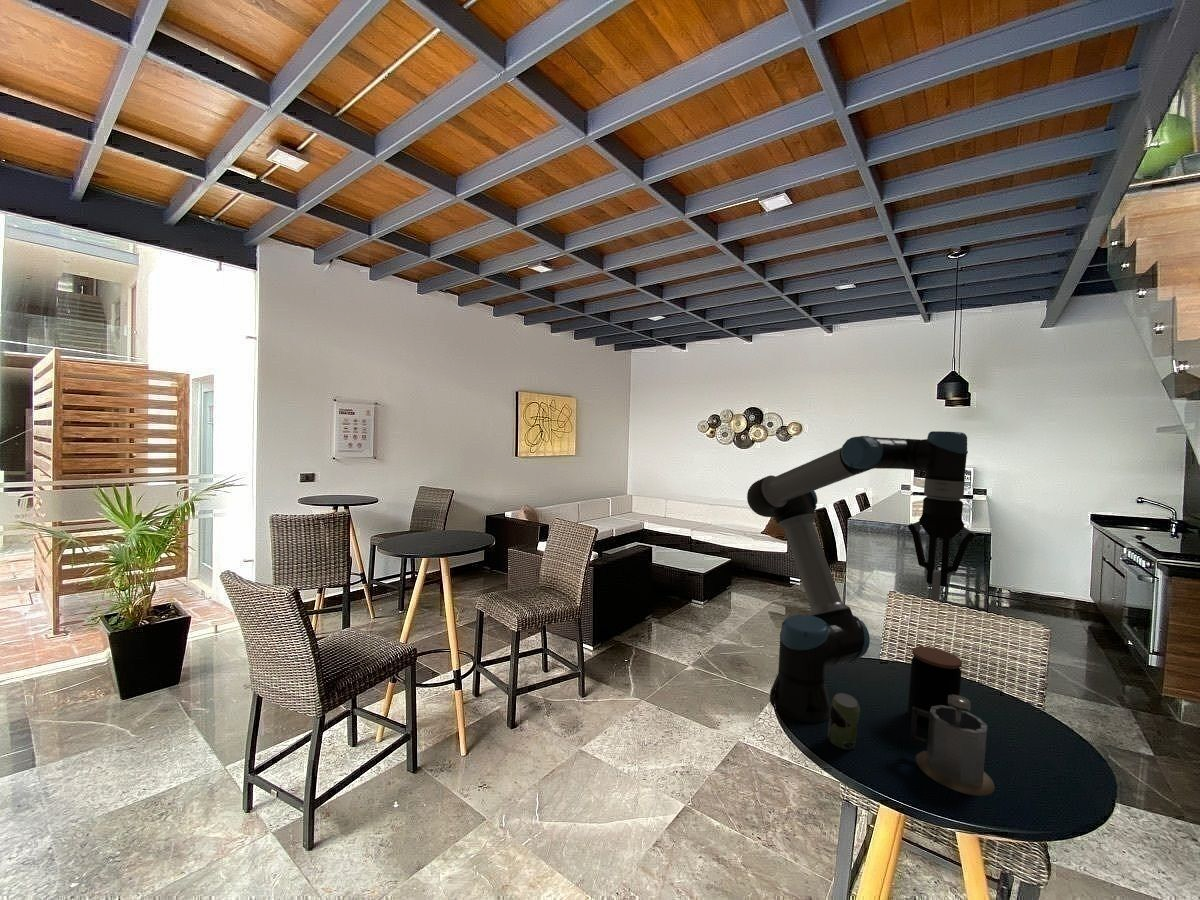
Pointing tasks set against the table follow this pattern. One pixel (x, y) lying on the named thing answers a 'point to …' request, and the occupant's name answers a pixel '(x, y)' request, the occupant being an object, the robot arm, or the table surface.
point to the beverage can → (843, 721)
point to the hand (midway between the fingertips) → (935, 598)
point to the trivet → (981, 791)
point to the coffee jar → (932, 680)
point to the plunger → (959, 706)
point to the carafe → (953, 745)
